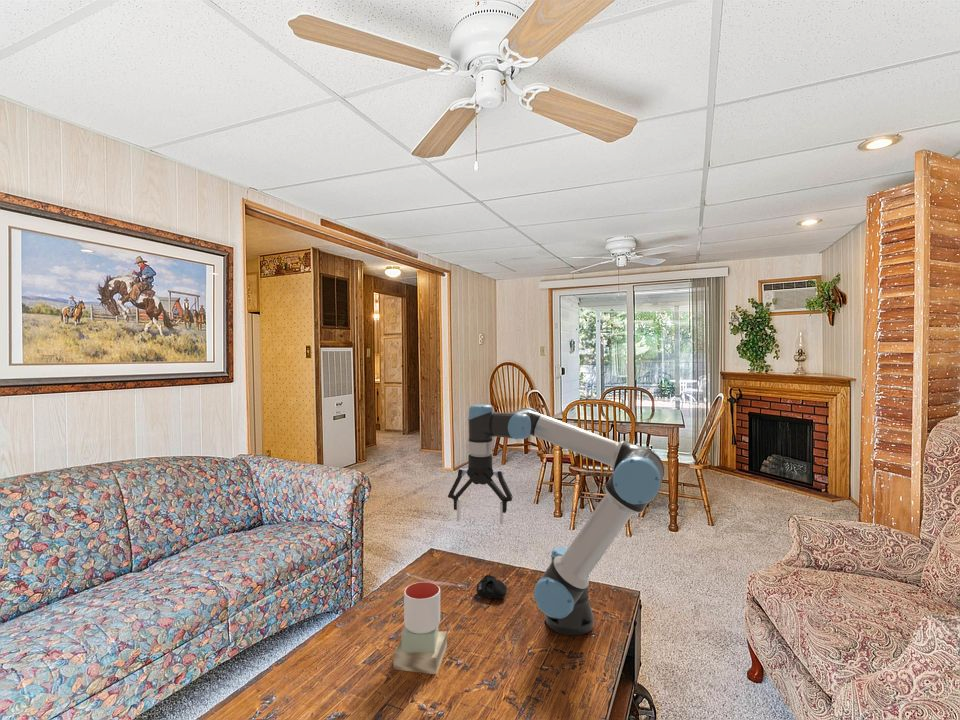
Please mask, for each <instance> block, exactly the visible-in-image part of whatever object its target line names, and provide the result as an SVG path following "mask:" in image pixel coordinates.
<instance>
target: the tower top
mask: <svg viewBox="0 0 960 720" xmlns="http://www.w3.org/2000/svg"><path fill="white" fill-rule="evenodd" d="M438 631H439V626H438V627H437V628H436V629H435V630H433V631H431V632H429V633H424V634H417V633H413V632H411V631H409V630H408V629H407V628H406V627H405V624H404V625H403V628H402V631H401V639H402V652H412V653H435V648H436V643H437V638H438Z"/></svg>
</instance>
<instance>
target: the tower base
mask: <svg viewBox="0 0 960 720" xmlns="http://www.w3.org/2000/svg"><path fill="white" fill-rule="evenodd" d="M447 649H448V632H447V631H442V630H441V631H439V630H438V638H437V643H436V648H435V653H412V652H402V638H401V639H400V640H399V642H398V644H397V646H396V648H395V649H394V651H393V659H392V660H393V662H392V663H393V664H392V666H393V668H392V669H393V670H398V671H406V672H412V673H413V672H415V673H423V674H432V675H437V673H438V671H439V669H440V666H441V663H442V661H443V658H444V656H445V653H446V651H447Z"/></svg>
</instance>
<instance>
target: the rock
mask: <svg viewBox="0 0 960 720" xmlns="http://www.w3.org/2000/svg"><path fill="white" fill-rule="evenodd" d="M476 594H477V596H481V597H486V598H488V599H496V600H497V599H502V598H504V597H505V596H506V595H507V586H506V585H505V583H504V582H503V581H501V580H500V579H497V578H496V577H495V576H494V575H491V574H489V575H488V574H487V575H484V576H483V577H482V578H481V579H480V581H479V582H478V583H477V585H476Z"/></svg>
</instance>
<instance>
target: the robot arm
mask: <svg viewBox="0 0 960 720" xmlns="http://www.w3.org/2000/svg"><path fill="white" fill-rule="evenodd" d="M467 421H468V442H467V443H468V446H467V448H468V450H467V451H468V452H467V453H468V456H467V458H468V462H467V463H468V467H467V469H465V468H463V467H459V469H458V470H457V471H458V472H457V477H456V478H455V481H454V483H453V485H452V487H451V489H450V490H449V492H448V495H447V497H448V498H449V499H452V500H453V510H454V511H456V523H457V522H460V521H461V519H462V498H460V497H461V496H462V494H464V492H465V491H466V490H467V489H468V488H469V486H470V485H471V484H474V485H483V486H485V485H488V486H489V487H490V489H491V490H492V491H493V493H494V494H495V495H496V496H497V497H498V498H499V499H500V503H499V525H503V523H504V514H506V513H507V510H508V502H512V501H513V497H514V496H513V494H512V492H511V490H510V488H509V486H508V483H507V482H506V480H505V478H504V474H503V470H502V469H499V470H494V469H493V455H492V454H493V438H494V437H495V438H496V437H497V438H506V439H514V440H520V439H521V440H526V439H527V438H529V436H532V437H535V438H538V439H540V440H543V441H545V442H547V443H551V444H552V445H556V446H558V447H560V448H563V449H566V450H569V451H571V452H574V453H575V454H578V455H582V456H584V457H586V458H589V459H591V460H594V461H597V462H600V463H602V464H604V465H607V466H609V467H610V469H612V472H613V473H612V475H611V476H610V477H609V479H608V480H607V481H606V483H605V485H604V490H605V492H606V493H605V495H604V496H603V497H602V499H601V500H600V502H599V503H598V505H597V506H596V508H595V509H594V511H593V512H592V513H591V515H590V517H588V519H587V520H586V522H585V524H584V525H583V526H582V528H581V529H580V530H579V531H578V533H577V535H576V536H575V538H574V539H573V541H572V542H571V544H570V545H569V546H558V547H554V548H553V549H552V550H551V554H550V558H551V563H550V564H549V565H548V567H547V568H546V570H545V572H543V574H542V576H540V579H538V580H537V582H536V583H535V586H534V590H533V597H534V600H535V603H536V606H537V607H538V609H539V610H540V611H541V612H542V613H543V614H545V619H544V620H545V624H546V625H547V626H548V627H549V628H550V629H551V630H552V631H554V632H557V633H559V634H560V635H561V634H562V635H565V636H566V635H567V636H581V635H585V633H586V634H588V633H590V632H591V631H592V630H593V629H594V624H595V620H594V614H593V611H592V608H591V603H590V601H589V584H590V581H589V580H590V579H589V575H590V574H591V572H592V571H593V570H594V569H595V567H596V566H597V564H598V563H599V562H600V560H601V559H602V557H603V556H604V555H605V553H606V552H607V550H608V549H609V548H610V547H611V545H612V544H613V542H614V540H616V538H617V537H618V535H619V534H620V533H621V531H622V530H623V528H624V527H625V525H626V524H627V523H628V521H629V520H630V519H631V517H632V516H633V515H634V514H640V513H642V512H644V510H645V509H646V507H647V505H648V504H649V503H650V502H651V501H652V500H653V499H655V498H656V496H657V495H658V494H659V492H660V490H661V487H662V483H663V482H662V481H663V479H664V475H665V466H664V463H663V461H662V459H661V458H660V456H659V455H658V454H657V453H656V452H655V451H653V450H651V449H649V448H646V447H643V446H640V445H638V444H634V443H630V442H628V441H625V440H621V441H615V440H612V439H609V438H607V437H604V436H601V435H599V434H596V433H594V432H591V431H588V430H586V429H582V428H580V427H578V426H574V425H571V424H568V423H567V422H563V421H561V420H558V419H556V418H553V417H550V416H547V415H544V414H541V413H539V412H538V411H537V410H536V409H535V408H532V407H522V408H519V409H518V410H514V411H510V412H496V411H494V409H493V405H491V404H483V403H480V404H478V403H477V404H472V405H471V406H470V407H469V408H468V419H467ZM466 474H467V476H468V480H467V481H466V482H465V483H464V485H463V486H462V487H461V488H460V490H458V491H457V492H456V490H457V488H458V486H459V484H460V482H461V479H462V478H463V477H464V476H465V475H466ZM493 476H495V478H497V479H498V481H499V484H500V485H501V488H502V489H503V491H502V490H501V489H500V488H499V486H498V485H497V484H496V483H495V481H494V479H493V478H492V477H493ZM455 492H456V493H455ZM503 492H504V493H503Z"/></svg>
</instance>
